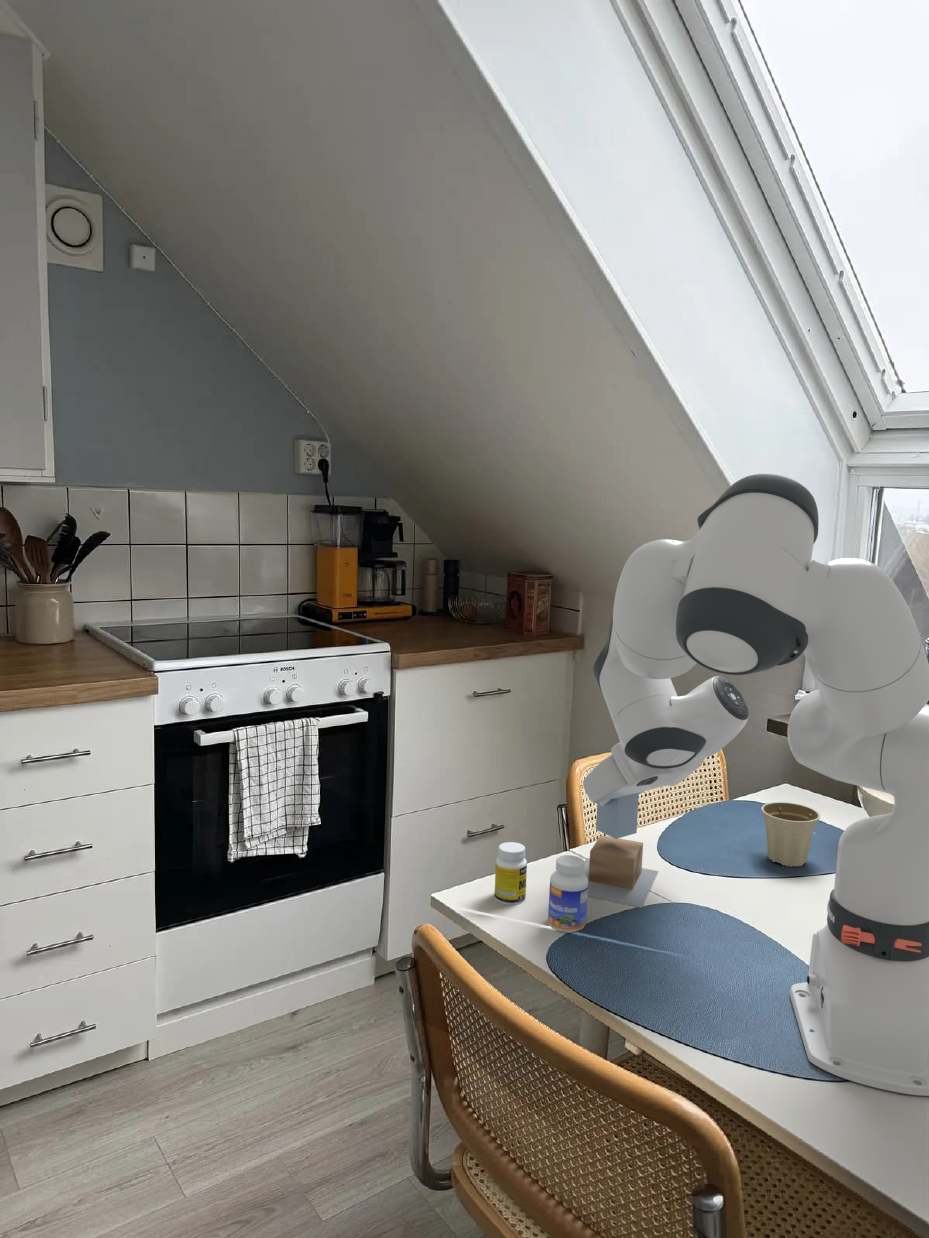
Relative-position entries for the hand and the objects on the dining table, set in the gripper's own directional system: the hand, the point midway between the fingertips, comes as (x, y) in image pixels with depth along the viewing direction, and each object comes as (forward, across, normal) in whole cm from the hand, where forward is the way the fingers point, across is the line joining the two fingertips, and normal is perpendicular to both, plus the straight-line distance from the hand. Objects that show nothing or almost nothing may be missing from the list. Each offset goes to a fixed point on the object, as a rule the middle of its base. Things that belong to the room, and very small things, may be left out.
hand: (615, 797), depth 146 cm
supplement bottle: (+12, +18, +8) cm, 23 cm away
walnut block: (+9, 0, +10) cm, 13 cm away
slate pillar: (+3, 0, +4) cm, 5 cm away
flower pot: (+2, -31, +17) cm, 35 cm away
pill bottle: (+4, +16, +15) cm, 23 cm away
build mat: (+8, +1, +11) cm, 14 cm away
